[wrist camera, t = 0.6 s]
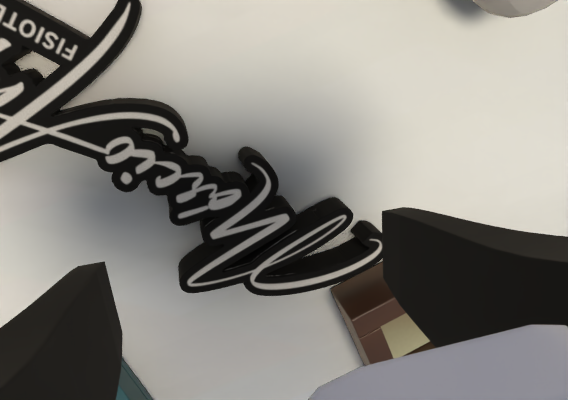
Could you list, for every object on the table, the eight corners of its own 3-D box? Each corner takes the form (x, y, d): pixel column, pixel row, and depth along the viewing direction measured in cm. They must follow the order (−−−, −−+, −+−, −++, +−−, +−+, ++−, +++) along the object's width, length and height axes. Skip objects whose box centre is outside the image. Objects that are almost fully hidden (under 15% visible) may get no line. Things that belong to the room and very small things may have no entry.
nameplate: (436, 177, 22) (326, 346, 24) (419, 168, 23) (317, 328, 25) (-325, -288, 12) (-420, 60, 14) (-274, -255, 13) (-366, 58, 15)
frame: (476, 330, 28) (510, 362, 25) (373, 385, 28) (397, 424, 25) (445, 228, 25) (480, 252, 22) (329, 288, 25) (350, 320, 22)
